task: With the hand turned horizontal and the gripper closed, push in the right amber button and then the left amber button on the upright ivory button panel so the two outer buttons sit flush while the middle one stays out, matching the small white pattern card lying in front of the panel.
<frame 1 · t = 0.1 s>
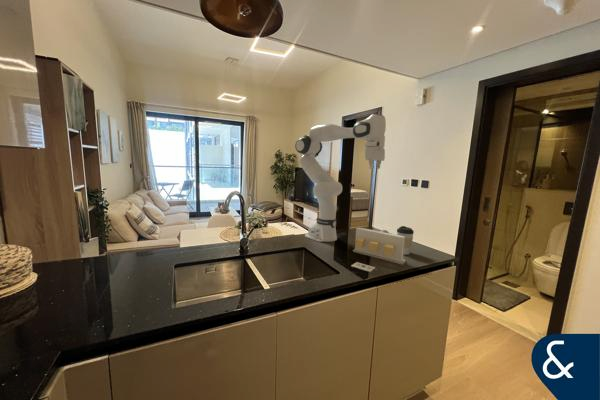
hand: (374, 168, 141), 48 cm above the worktop, tool pointing down, fingers open, 8 cm apart
button panel: (377, 256, 136), on the worktop
donut: (382, 245, 156), on the worktop
pattern card: (363, 267, 122), on the worktop
button right: (390, 249, 127), point 7 cm above the worktop, slide at 0.0 cm
button left: (361, 242, 137), point 7 cm above the worktop, slide at 0.0 cm
button middle: (375, 245, 132), point 7 cm above the worktop, slide at 0.0 cm
coffee cup: (403, 252, 144), on the worktop
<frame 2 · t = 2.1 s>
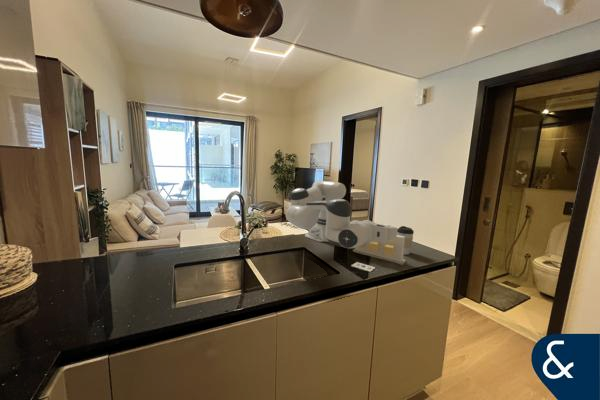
hand: (379, 225, 112), 23 cm above the worktop, tool horizontal, fingers open, 8 cm apart
nothing on the worktop moved.
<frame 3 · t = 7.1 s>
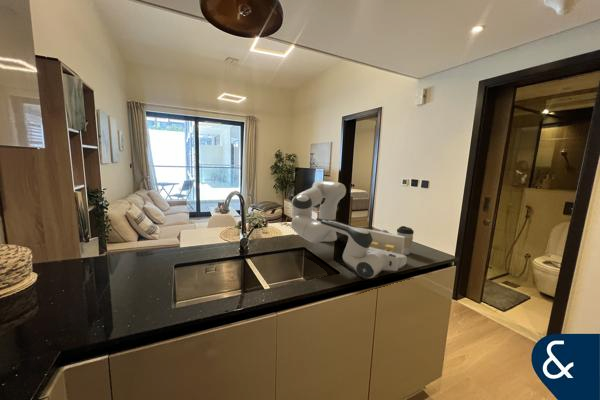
hand: (388, 251, 124), 7 cm above the worktop, tool horizontal, fingers closed, pressing on button right
button right: (390, 248, 128), point 7 cm above the worktop, slide at 0.5 cm, touching gripper
everything else where it was.
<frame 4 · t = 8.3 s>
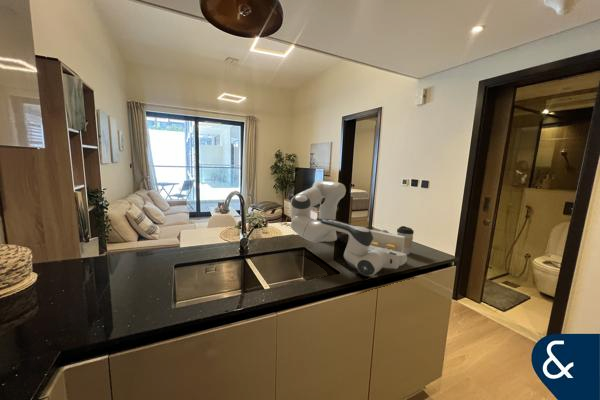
hand: (389, 249, 126), 7 cm above the worktop, tool horizontal, fingers closed
button right: (392, 247, 129), point 7 cm above the worktop, slide at 2.4 cm
everything else where it was.
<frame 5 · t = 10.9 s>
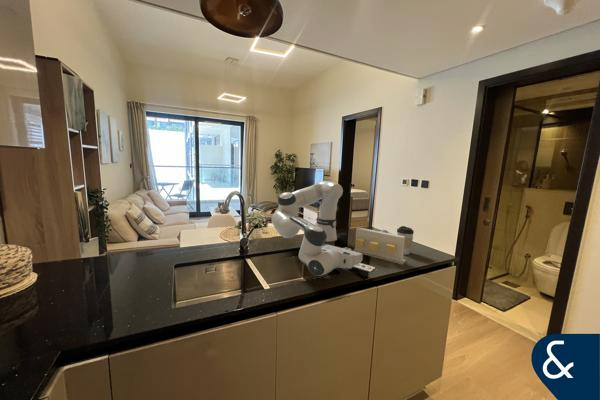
hand: (348, 249, 125), 8 cm above the worktop, tool horizontal, fingers closed
nothing on the worktop moved.
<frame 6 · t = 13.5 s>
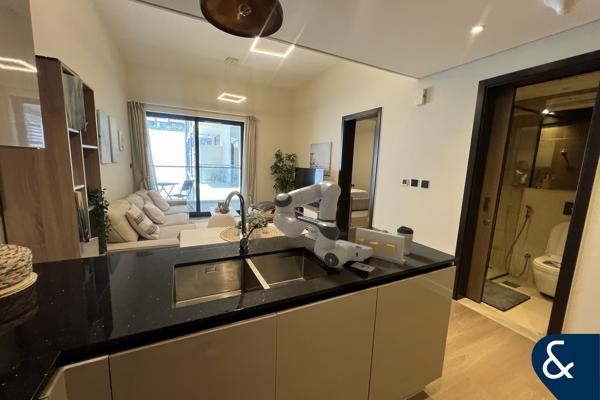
hand: (359, 244, 135), 7 cm above the worktop, tool horizontal, fingers closed, pressing on button left
button left: (361, 242, 137), point 7 cm above the worktop, slide at 0.5 cm, touching gripper
everything else where it was.
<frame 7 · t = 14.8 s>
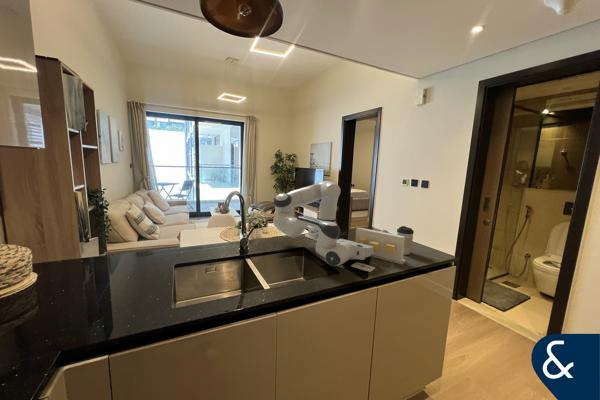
hand: (360, 243, 136), 7 cm above the worktop, tool horizontal, fingers closed
button left: (363, 241, 139), point 7 cm above the worktop, slide at 2.4 cm
everything else where it was.
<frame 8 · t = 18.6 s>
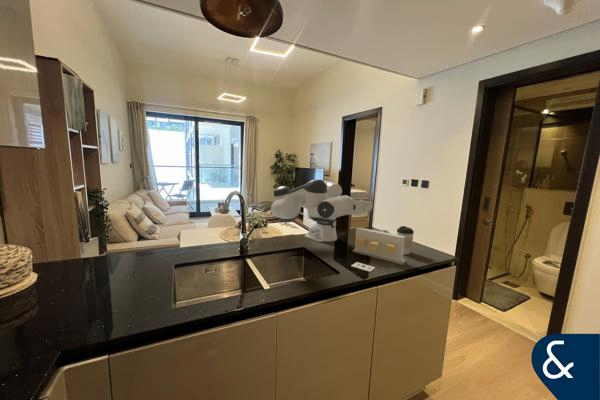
hand: (357, 201, 122), 32 cm above the worktop, tool horizontal, fingers closed
nothing on the worktop moved.
at the end: button right slide at 2.4 cm; button left slide at 2.4 cm; button middle slide at 0.0 cm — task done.
